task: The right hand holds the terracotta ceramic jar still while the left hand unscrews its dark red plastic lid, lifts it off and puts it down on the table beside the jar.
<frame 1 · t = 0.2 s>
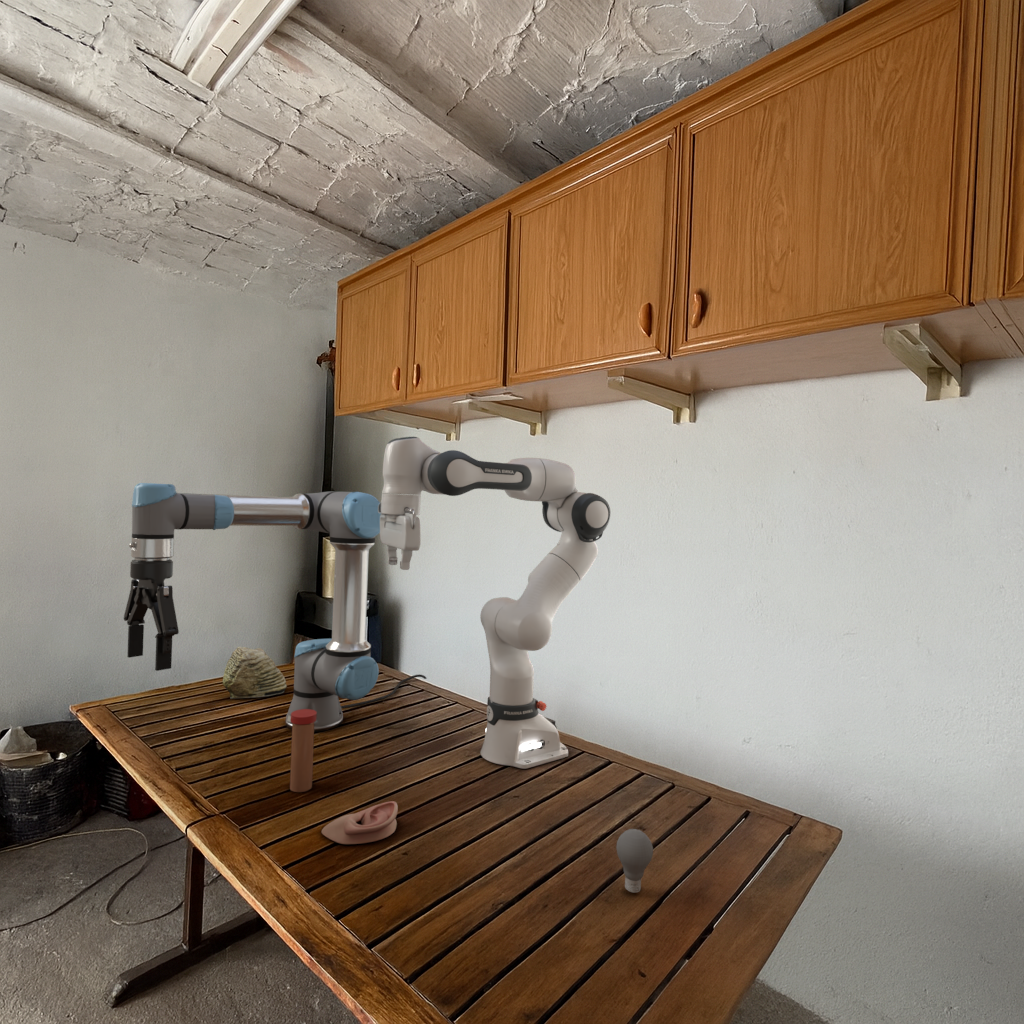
left hand: (148, 662, 129), 28 cm above the table, tool pointing down, fingers open, 13 cm apart
right hand: (398, 567, 146), 48 cm above the table, tool pointing down, fingers open, 8 cm apart
fossil: (254, 694, 198), on the table
anatomical model: (360, 830, 121), on the table
jar: (300, 787, 138), on the table
lid: (303, 714, 137), point 16 cm above the table, screwed on, not yet turned
light bulb: (632, 891, 106), on the table
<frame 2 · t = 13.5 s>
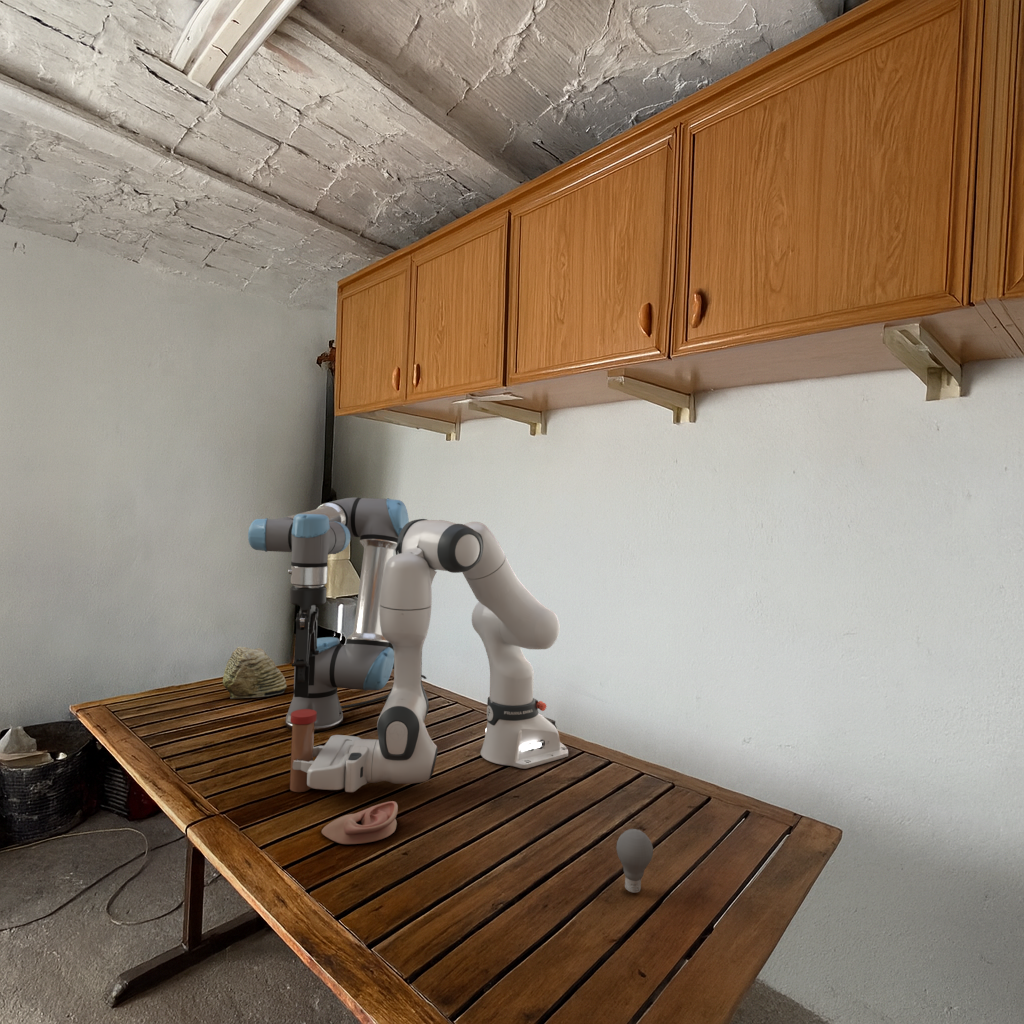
left hand: (304, 690, 137), 21 cm above the table, tool pointing down, fingers open, 7 cm apart
right hand: (297, 758, 137), 6 cm above the table, tool horizontal, fingers closed on jar, 4 cm apart
jar: (300, 787, 138), on the table, touching right hand
everything else where it was.
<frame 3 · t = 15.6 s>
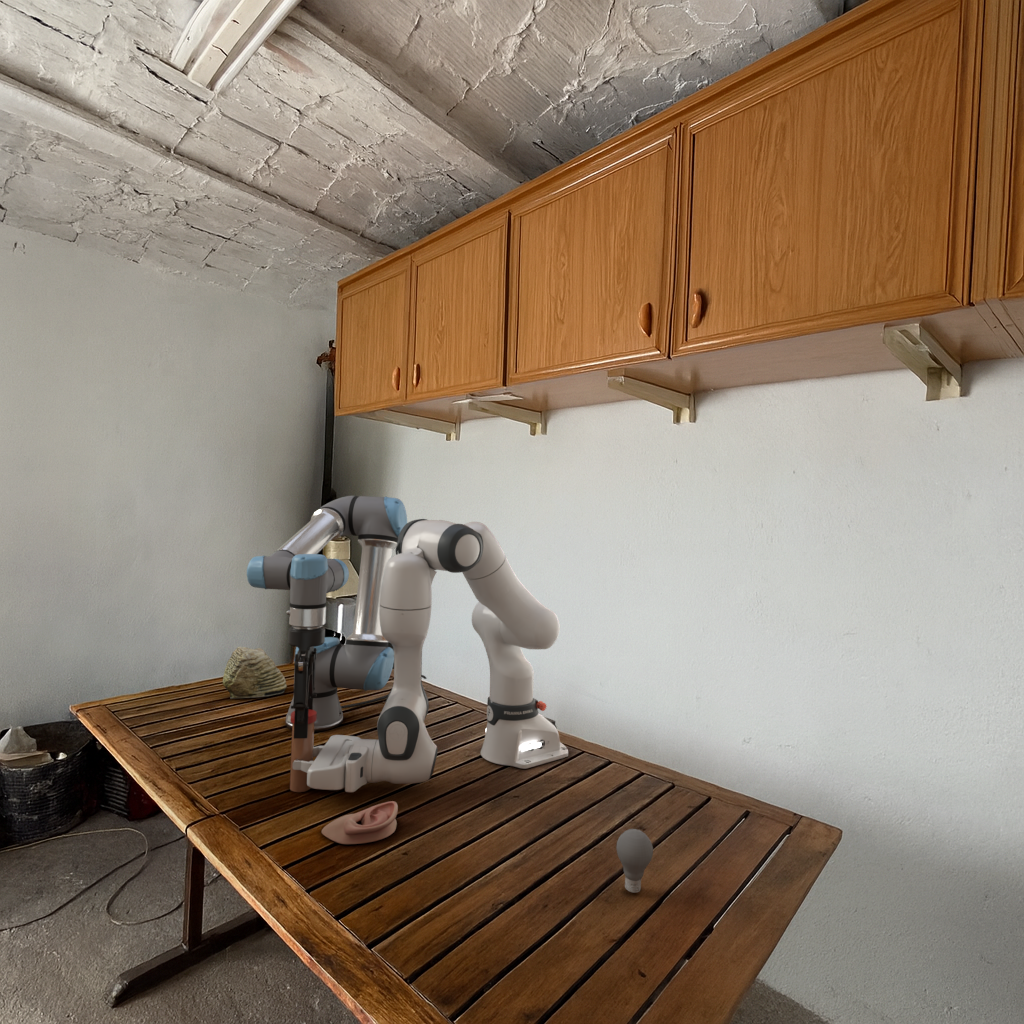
left hand: (303, 732, 137), 12 cm above the table, tool pointing down, fingers closed on lid, 5 cm apart
right hand: (297, 758, 137), 6 cm above the table, tool horizontal, fingers closed on jar, 4 cm apart
jar: (300, 787, 138), on the table, touching right hand
lid: (303, 714, 137), point 16 cm above the table, screwed on, not yet turned, touching left hand
everything else where it was.
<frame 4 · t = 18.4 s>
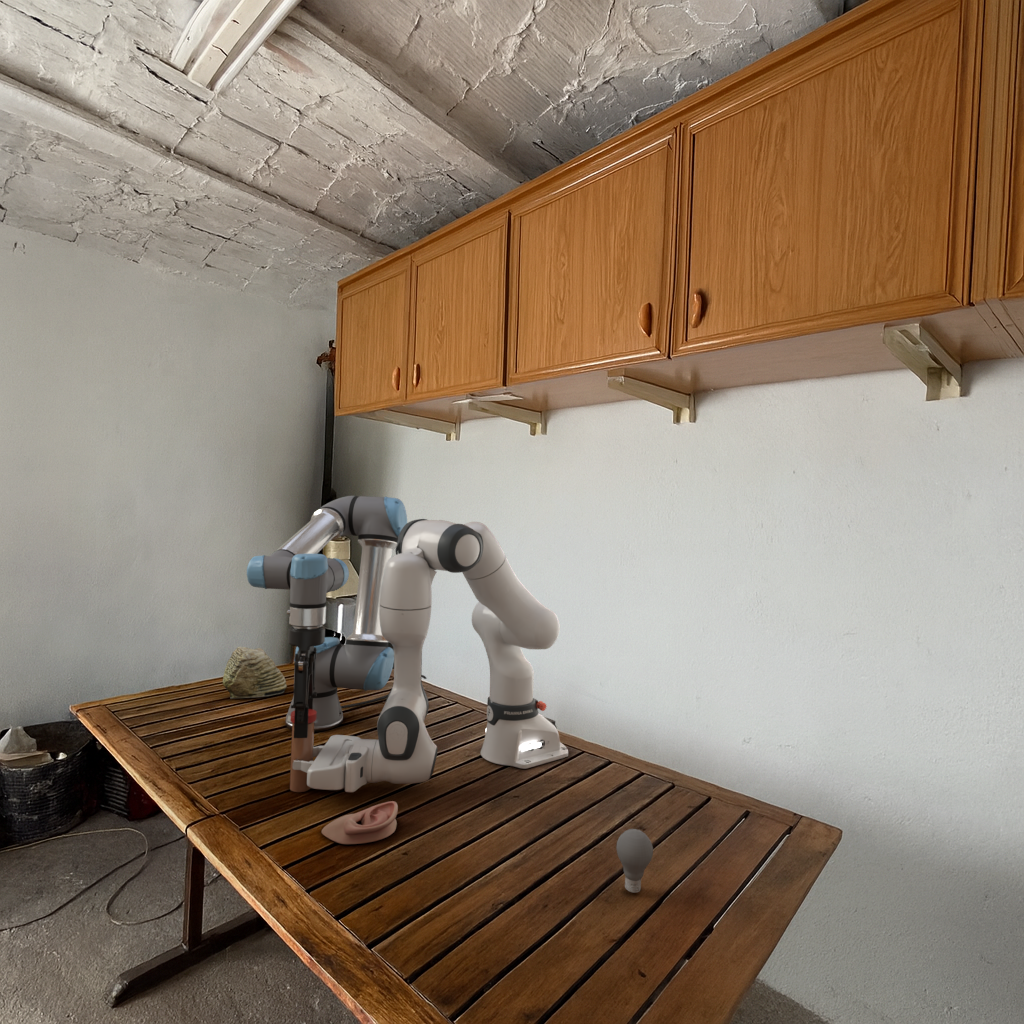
left hand: (303, 731, 137), 12 cm above the table, tool pointing down, fingers closed on lid, 5 cm apart
right hand: (297, 758, 137), 6 cm above the table, tool horizontal, fingers closed on jar, 4 cm apart
jar: (300, 787, 138), on the table, touching right hand
lid: (303, 714, 137), point 16 cm above the table, turned 82° so far, risen 0.1 cm, still on its thread, touching left hand
everything else where it was.
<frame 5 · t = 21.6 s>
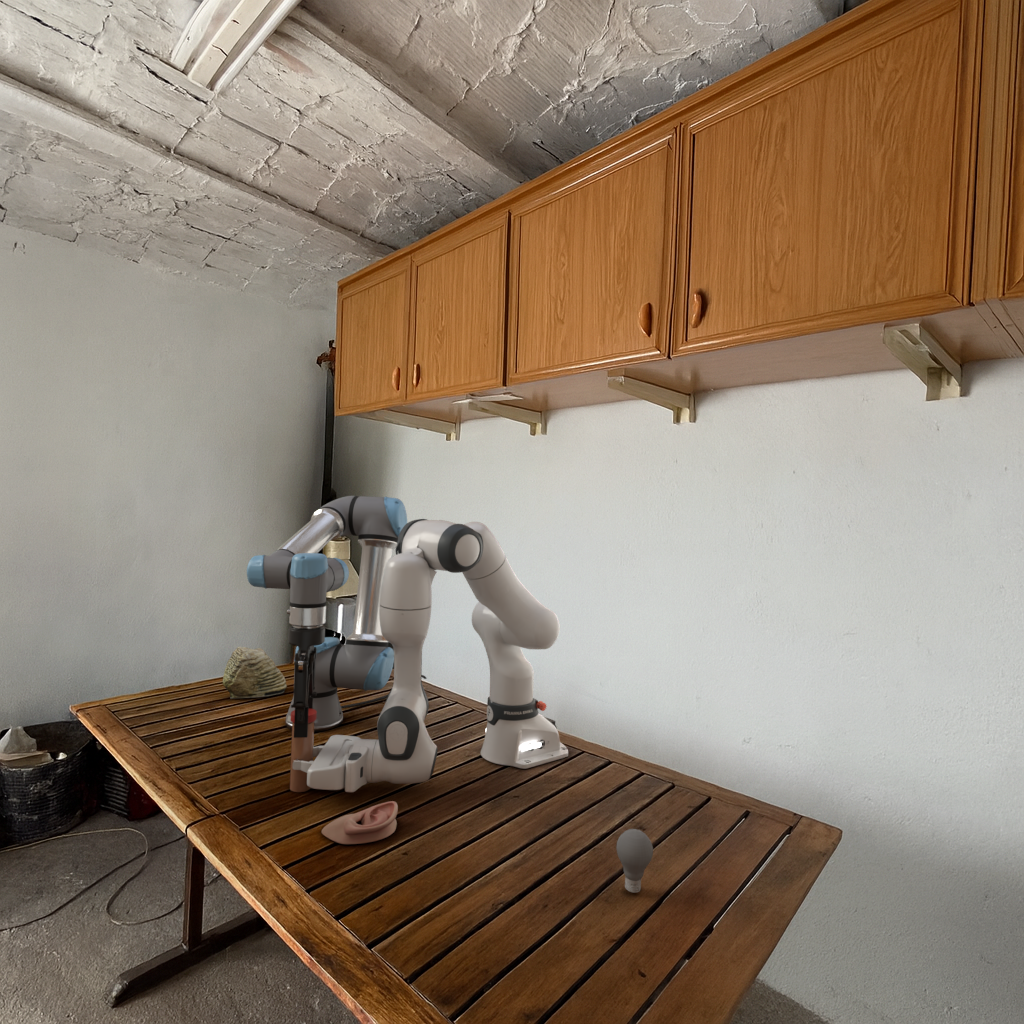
left hand: (303, 731, 137), 12 cm above the table, tool pointing down, fingers closed on lid, 5 cm apart
right hand: (297, 758, 137), 6 cm above the table, tool horizontal, fingers closed on jar, 4 cm apart
jar: (300, 787, 138), on the table, touching right hand
lid: (303, 713, 137), point 16 cm above the table, turned 165° so far, risen 0.2 cm, still on its thread, touching left hand
everything else where it was.
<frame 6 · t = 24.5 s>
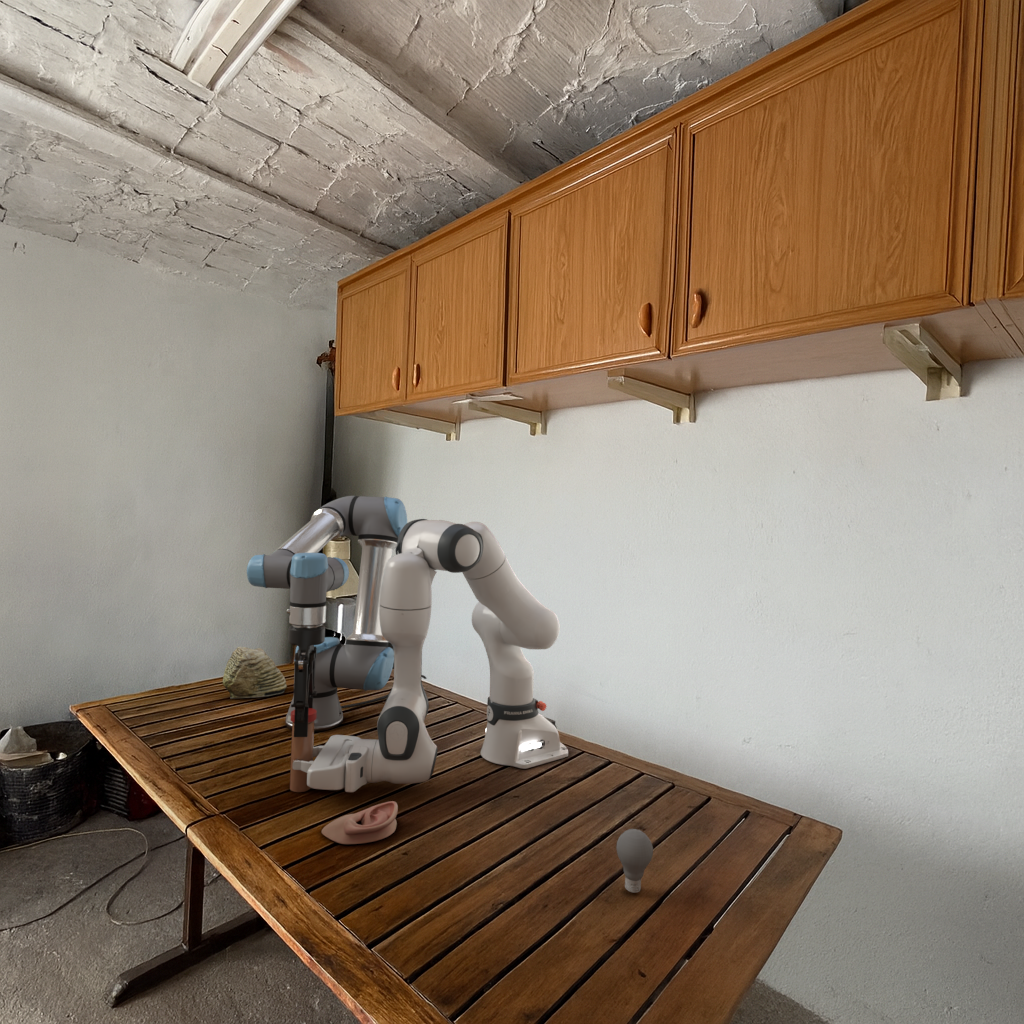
left hand: (303, 731, 137), 12 cm above the table, tool pointing down, fingers closed on lid, 5 cm apart
right hand: (297, 758, 137), 6 cm above the table, tool horizontal, fingers closed on jar, 4 cm apart
jar: (300, 787, 138), on the table, touching right hand
lid: (303, 713, 137), point 16 cm above the table, turned 247° so far, risen 0.3 cm, still on its thread, touching left hand
everything else where it was.
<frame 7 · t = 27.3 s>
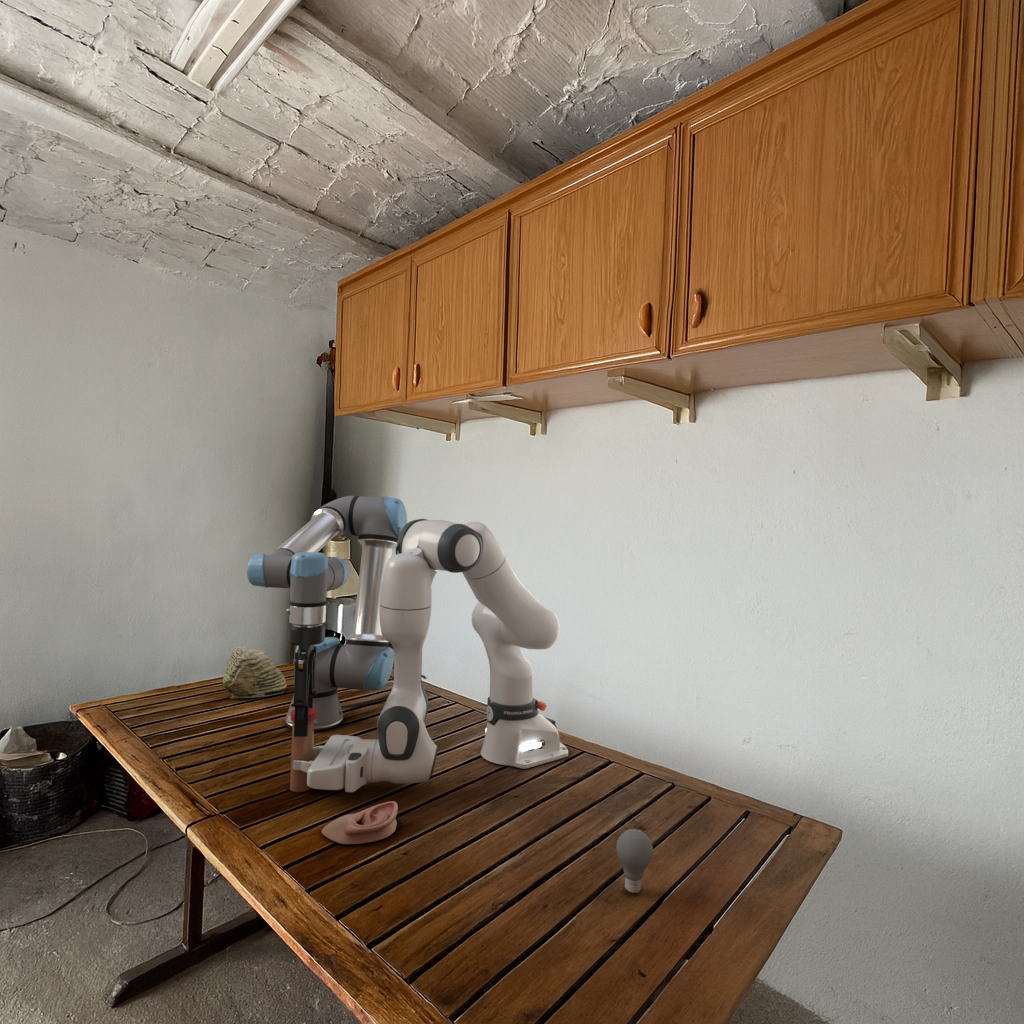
left hand: (303, 730, 137), 12 cm above the table, tool pointing down, fingers closed on lid, 5 cm apart
right hand: (297, 758, 137), 6 cm above the table, tool horizontal, fingers closed on jar, 4 cm apart
jar: (300, 787, 138), on the table, touching right hand
lid: (303, 712, 137), point 16 cm above the table, turned 330° so far, risen 0.4 cm, still on its thread, touching left hand
everything else where it was.
when the left hand's fingers open (0 cm above the table, at t = 34.1 s): lid drops 3 cm, point 1 cm above the table.
when the right hand's fingers open (6 cm above the table, at t = 34.8 s): jar stays where it is, on the table.
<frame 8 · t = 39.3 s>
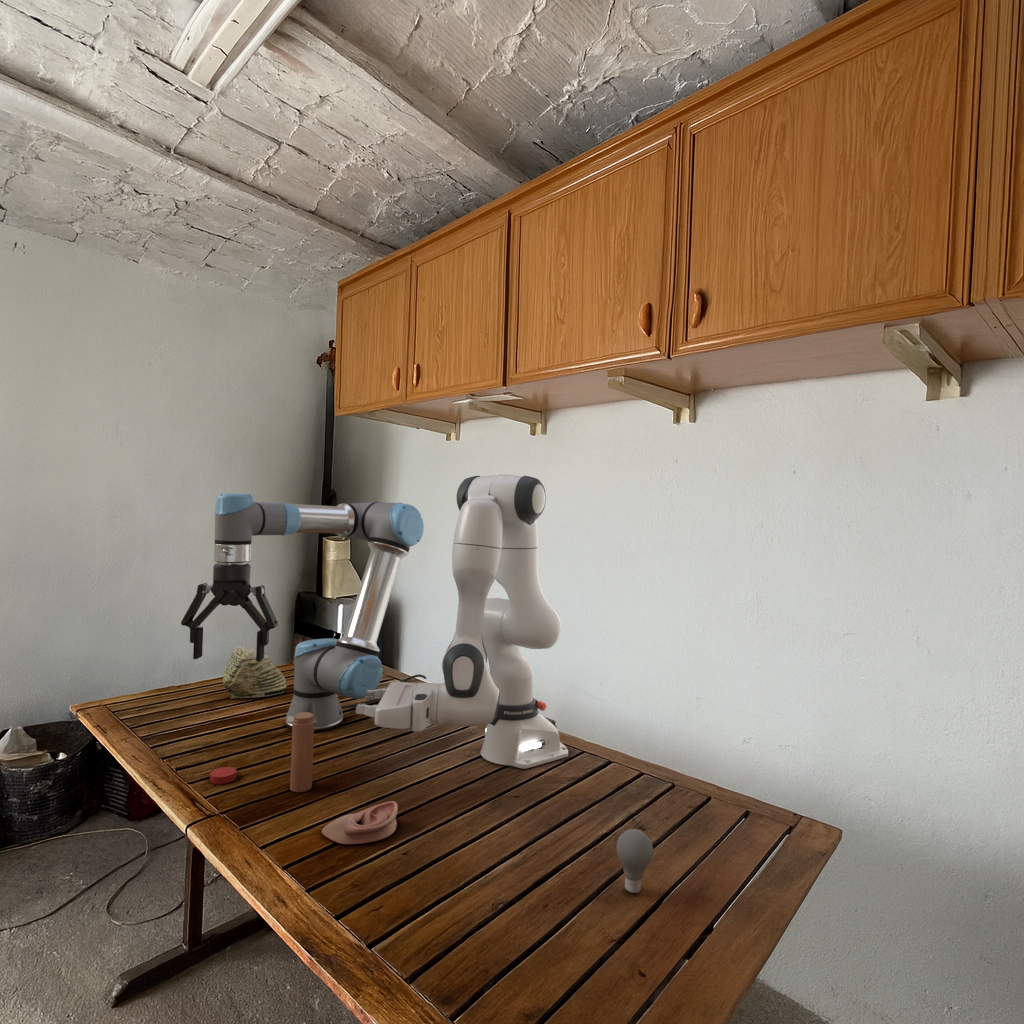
left hand: (228, 658, 140), 27 cm above the table, tool pointing down, fingers open, 13 cm apart
right hand: (361, 701, 138), 19 cm above the table, tool horizontal, fingers open, 8 cm apart
jar: (300, 787, 138), on the table
lid: (223, 773, 140), point 1 cm above the table, off its thread
everything else where it was.
at the end: lid came off its thread; lid point 1.2 cm above the table; the left hand is holding nothing; the right hand is holding nothing; jar tilted 0°; jar moved 0.0 cm from its start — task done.
